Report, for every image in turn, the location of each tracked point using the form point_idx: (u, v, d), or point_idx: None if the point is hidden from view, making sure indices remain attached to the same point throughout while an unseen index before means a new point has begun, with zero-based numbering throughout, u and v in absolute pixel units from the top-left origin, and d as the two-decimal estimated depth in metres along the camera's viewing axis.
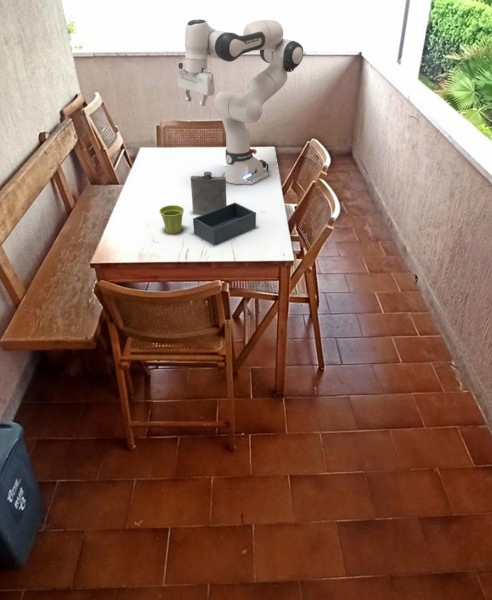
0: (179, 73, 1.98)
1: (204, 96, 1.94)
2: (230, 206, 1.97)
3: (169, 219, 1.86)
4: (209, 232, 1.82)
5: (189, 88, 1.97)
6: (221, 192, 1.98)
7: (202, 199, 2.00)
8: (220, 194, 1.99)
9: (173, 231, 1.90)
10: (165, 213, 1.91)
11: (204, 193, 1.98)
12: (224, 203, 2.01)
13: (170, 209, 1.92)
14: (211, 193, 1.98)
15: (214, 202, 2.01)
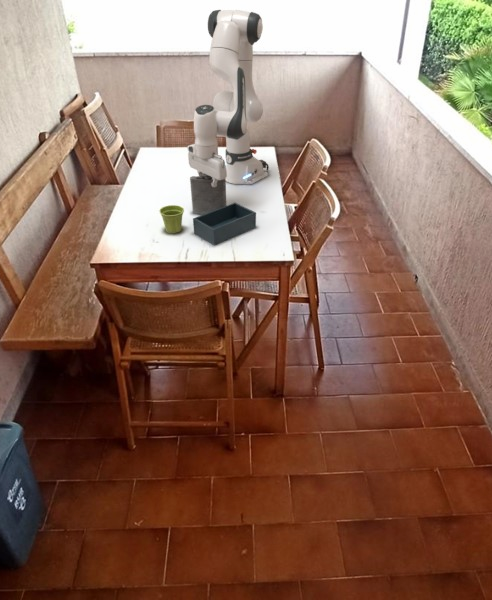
0: (190, 155, 1.95)
1: (215, 178, 1.92)
2: (230, 206, 1.97)
3: (169, 219, 1.86)
4: (209, 232, 1.82)
5: (201, 170, 1.94)
6: (221, 192, 1.98)
7: (202, 199, 2.00)
8: (220, 193, 1.99)
9: (173, 231, 1.90)
10: (165, 213, 1.91)
11: (204, 194, 1.98)
12: (224, 203, 2.02)
13: (170, 209, 1.92)
14: (211, 193, 1.98)
15: (214, 202, 2.01)
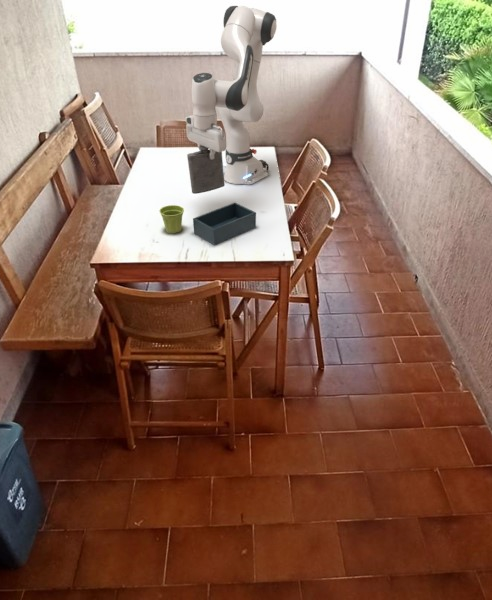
0: (188, 127, 1.88)
1: (212, 150, 1.86)
2: (230, 206, 1.97)
3: (169, 219, 1.86)
4: (209, 232, 1.82)
5: (199, 142, 1.88)
6: (219, 164, 1.94)
7: (203, 175, 1.92)
8: (218, 165, 1.94)
9: (173, 231, 1.90)
10: (165, 213, 1.91)
11: (204, 169, 1.91)
12: (222, 174, 1.97)
13: (170, 209, 1.92)
14: (211, 167, 1.92)
15: (214, 176, 1.95)
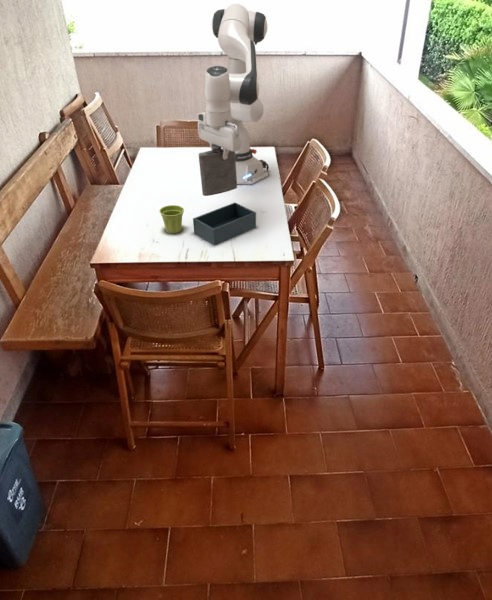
0: (199, 124, 1.76)
1: (226, 149, 1.73)
2: (230, 206, 1.97)
3: (169, 219, 1.86)
4: (209, 232, 1.82)
5: (212, 141, 1.75)
6: (232, 164, 1.81)
7: (214, 176, 1.80)
8: (231, 166, 1.81)
9: (173, 231, 1.90)
10: (165, 213, 1.91)
11: (216, 169, 1.79)
12: (235, 175, 1.85)
13: (170, 209, 1.92)
14: (223, 167, 1.79)
15: (226, 177, 1.82)
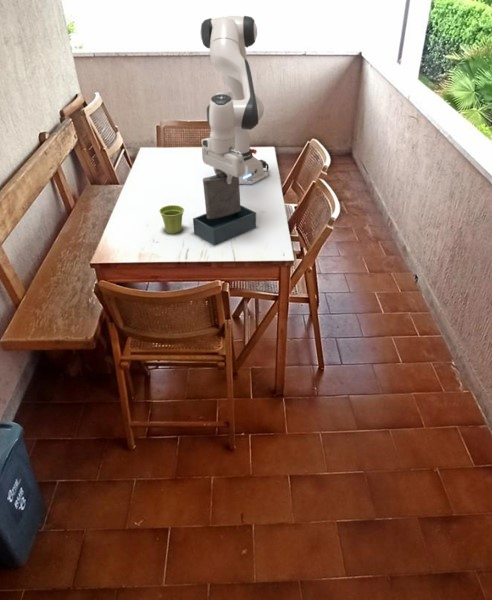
0: (204, 150, 1.78)
1: (230, 175, 1.76)
2: None
3: (169, 219, 1.86)
4: (209, 232, 1.82)
5: (216, 166, 1.78)
6: (236, 188, 1.84)
7: (218, 200, 1.82)
8: (235, 190, 1.84)
9: (173, 231, 1.90)
10: (165, 213, 1.91)
11: (220, 194, 1.81)
12: (239, 199, 1.87)
13: (170, 209, 1.92)
14: (227, 191, 1.82)
15: (230, 201, 1.85)
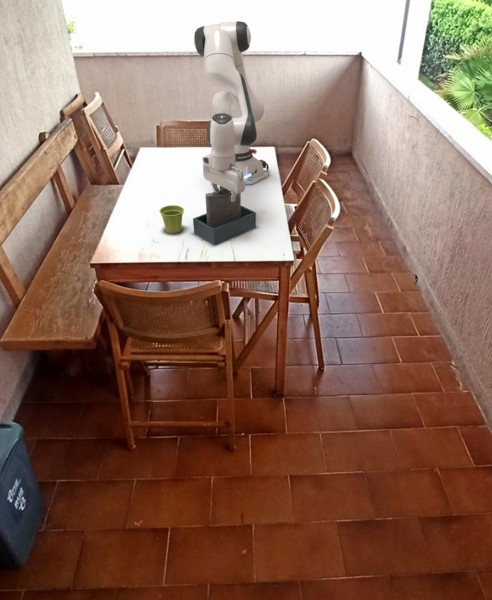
0: (205, 166, 1.82)
1: (234, 193, 1.78)
2: None
3: (169, 219, 1.86)
4: (209, 232, 1.82)
5: (217, 183, 1.81)
6: (237, 204, 1.88)
7: (220, 215, 1.86)
8: (236, 206, 1.88)
9: (173, 231, 1.90)
10: (165, 213, 1.91)
11: (221, 209, 1.85)
12: (240, 215, 1.92)
13: (170, 209, 1.92)
14: (229, 207, 1.86)
15: (231, 217, 1.89)
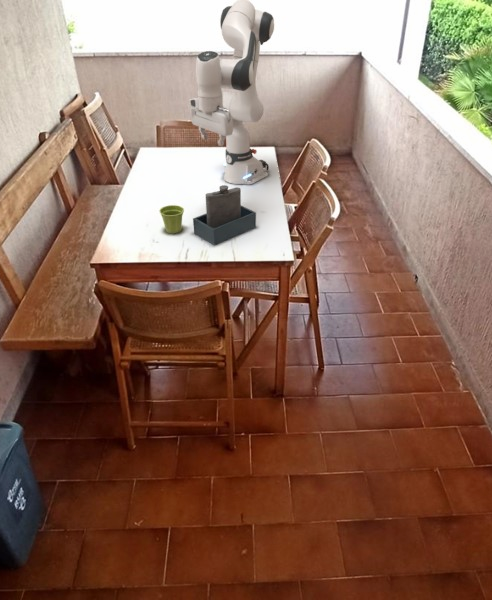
0: (192, 110, 1.78)
1: (222, 136, 1.74)
2: None
3: (169, 219, 1.86)
4: (209, 232, 1.82)
5: (204, 127, 1.77)
6: (237, 204, 1.88)
7: (220, 215, 1.86)
8: (236, 206, 1.88)
9: (173, 231, 1.90)
10: (165, 213, 1.91)
11: (221, 209, 1.85)
12: (240, 215, 1.92)
13: (170, 209, 1.92)
14: (229, 207, 1.86)
15: (231, 217, 1.89)
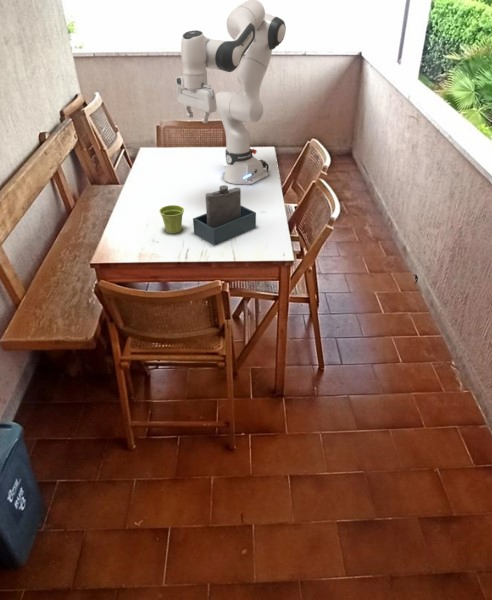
0: (178, 88, 1.85)
1: (206, 113, 1.81)
2: None
3: (169, 219, 1.86)
4: (209, 232, 1.82)
5: (190, 104, 1.84)
6: (237, 204, 1.88)
7: (220, 215, 1.86)
8: (236, 206, 1.88)
9: (173, 231, 1.90)
10: (165, 213, 1.91)
11: (221, 209, 1.85)
12: (240, 215, 1.92)
13: (170, 209, 1.92)
14: (229, 207, 1.86)
15: (231, 217, 1.89)
